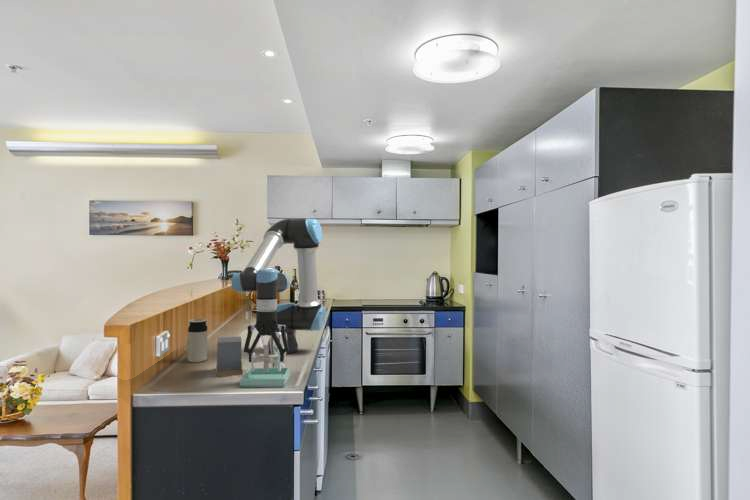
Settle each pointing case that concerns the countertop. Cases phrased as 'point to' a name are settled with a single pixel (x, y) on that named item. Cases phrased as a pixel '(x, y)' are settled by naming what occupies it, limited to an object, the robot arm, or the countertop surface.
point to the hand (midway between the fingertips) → (266, 370)
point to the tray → (265, 378)
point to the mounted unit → (229, 357)
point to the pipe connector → (266, 358)
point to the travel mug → (197, 340)
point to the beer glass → (275, 350)
